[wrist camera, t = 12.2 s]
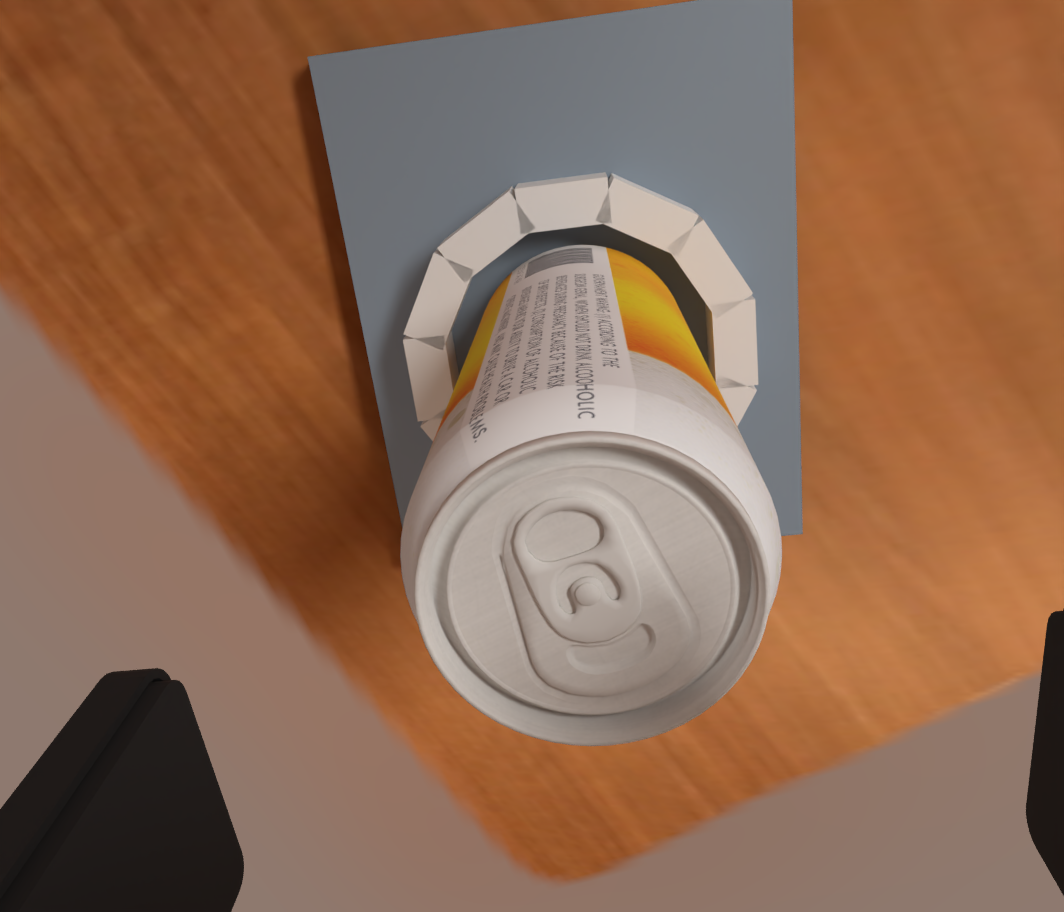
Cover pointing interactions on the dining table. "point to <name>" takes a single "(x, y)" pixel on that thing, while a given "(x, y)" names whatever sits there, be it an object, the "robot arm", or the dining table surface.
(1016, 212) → the dining table surface
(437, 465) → the beer can
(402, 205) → the base board
